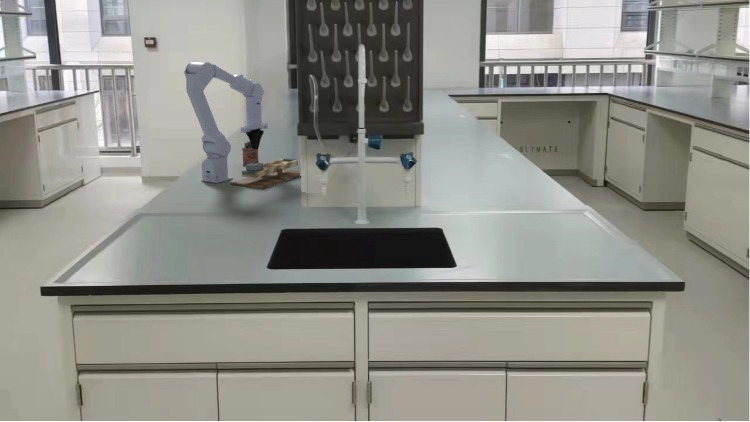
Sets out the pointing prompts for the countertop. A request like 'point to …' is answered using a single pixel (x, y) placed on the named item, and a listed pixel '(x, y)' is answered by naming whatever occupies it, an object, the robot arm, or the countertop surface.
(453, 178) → the countertop surface
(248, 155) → the red tin
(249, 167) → the grey block
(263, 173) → the beam
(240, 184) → the stand
